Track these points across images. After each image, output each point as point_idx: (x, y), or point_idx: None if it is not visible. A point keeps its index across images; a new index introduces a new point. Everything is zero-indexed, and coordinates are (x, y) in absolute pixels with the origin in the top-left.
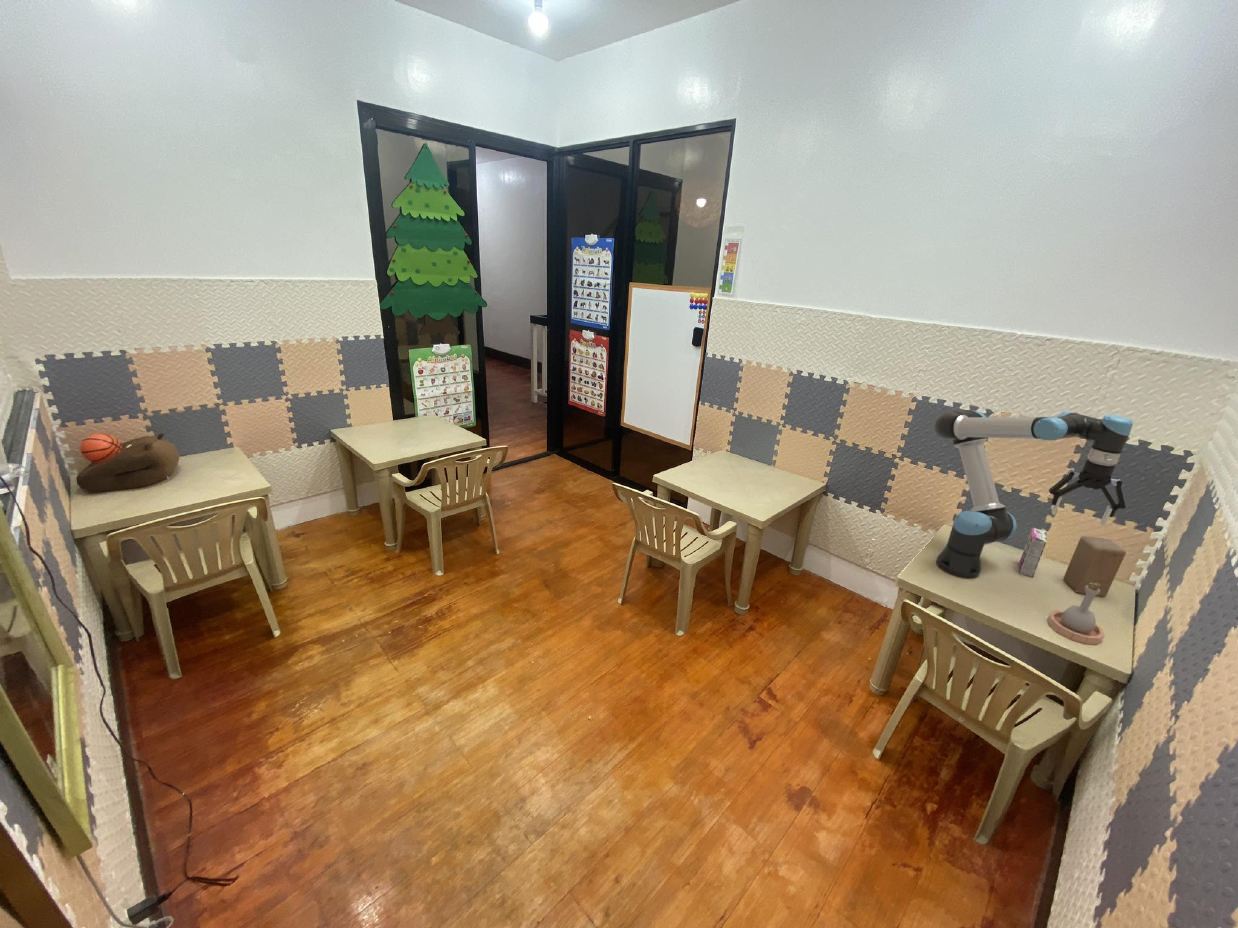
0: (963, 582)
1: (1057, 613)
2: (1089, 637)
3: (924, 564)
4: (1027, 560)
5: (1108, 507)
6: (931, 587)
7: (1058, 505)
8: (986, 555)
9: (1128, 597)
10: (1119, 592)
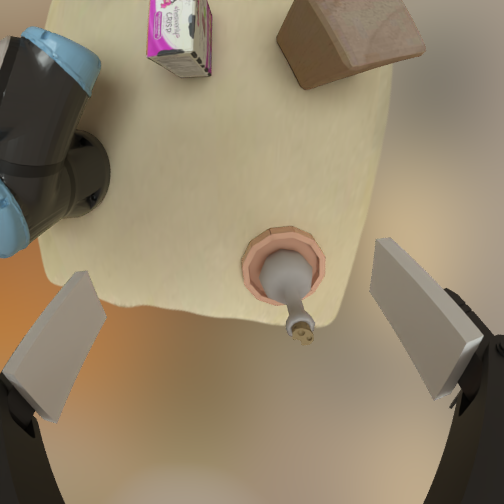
0: (97, 227)
1: (255, 251)
2: None
3: None
4: (179, 71)
5: (446, 372)
6: None
7: (77, 370)
8: (113, 47)
9: None
10: None
